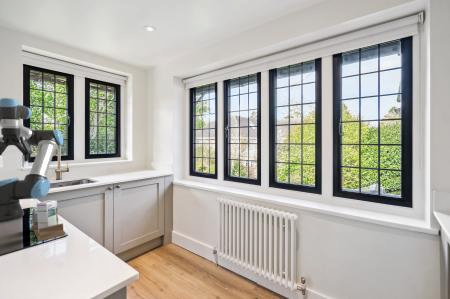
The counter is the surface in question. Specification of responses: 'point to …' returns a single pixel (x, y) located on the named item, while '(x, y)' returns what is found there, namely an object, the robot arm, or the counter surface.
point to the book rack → (46, 230)
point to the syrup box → (47, 213)
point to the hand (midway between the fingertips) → (12, 167)
